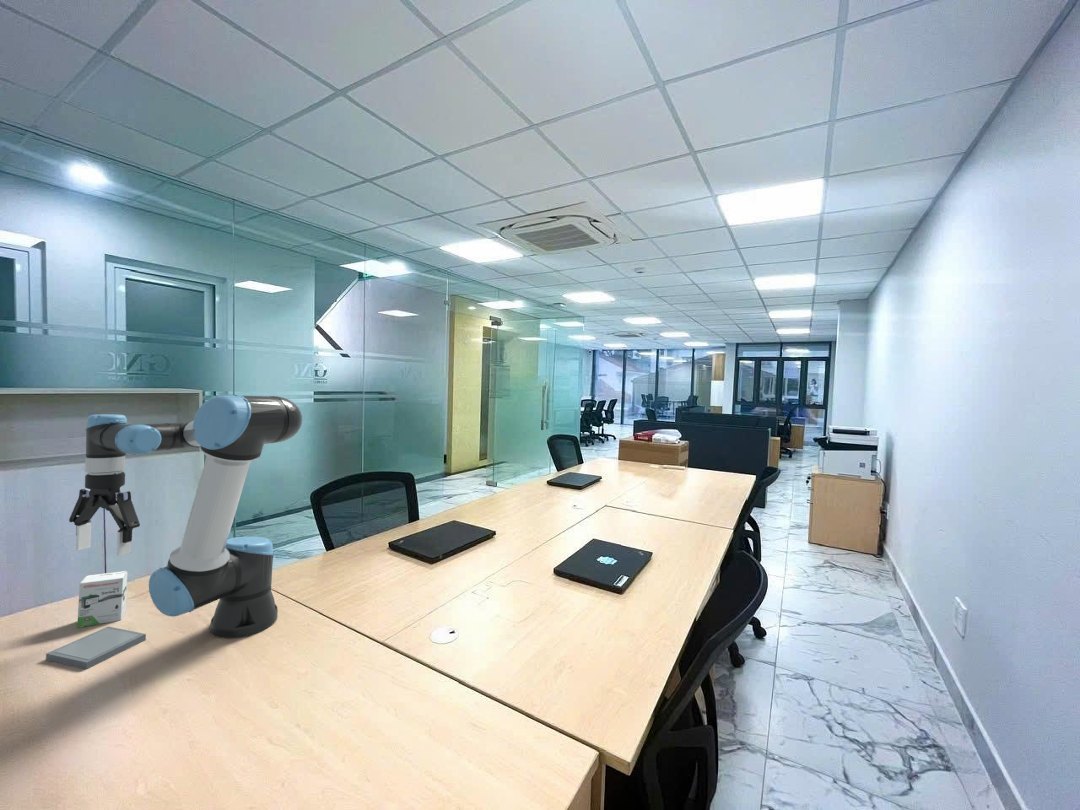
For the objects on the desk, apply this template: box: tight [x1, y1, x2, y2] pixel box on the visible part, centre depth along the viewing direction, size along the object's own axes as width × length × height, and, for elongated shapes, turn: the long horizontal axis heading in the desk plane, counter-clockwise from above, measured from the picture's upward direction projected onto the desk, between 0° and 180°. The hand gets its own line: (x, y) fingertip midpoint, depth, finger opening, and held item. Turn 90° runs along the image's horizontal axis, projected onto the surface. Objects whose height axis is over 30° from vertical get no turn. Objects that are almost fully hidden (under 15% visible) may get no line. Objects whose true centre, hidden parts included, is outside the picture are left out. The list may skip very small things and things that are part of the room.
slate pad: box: [45, 626, 147, 670], centre depth 103 cm, size 12×12×2 cm
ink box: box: [76, 570, 128, 628], centre depth 115 cm, size 9×5×12 cm, turn 123°
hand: (103, 551), depth 115 cm, fingers open, 13 cm apart
